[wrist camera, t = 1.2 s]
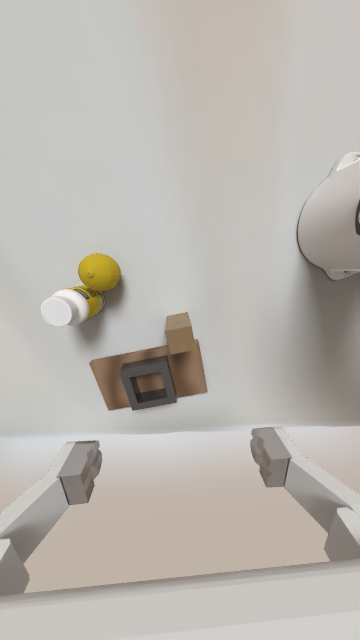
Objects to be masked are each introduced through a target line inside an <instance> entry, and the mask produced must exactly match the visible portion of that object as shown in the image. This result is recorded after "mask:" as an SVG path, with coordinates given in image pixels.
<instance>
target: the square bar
mask: <svg viewBox="0 0 360 640" xmlns="http://www.w3.org/2000/svg"><path fill="white" fill-rule="evenodd" d="M165 334H166V338H167V342H168V346H169V350H170V354H171V355H172V354H177V353H182V352H187V351H192V350H196V347H195V342H194V337H193V332H192V326H191V323H190V319H189V316H188V312H185V313H180V314H175V315H170V316H167V319H166V327H165Z"/></svg>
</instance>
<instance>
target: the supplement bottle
mask: <svg viewBox="0 0 360 640" xmlns="http://www.w3.org/2000/svg"><path fill="white" fill-rule="evenodd" d="M104 304H105V299H104V296H103V294H102V292H101V291H97V290H93V289H91V288H89V287H87V286H86V285H83V286H78V287H73V288H68V289H63V290H60V291H57V292H56V293H54V294H53V295H52V297H51V298H48V299H46V300H45V301H44V302H43V303H42V305H41V314H42V317H43V318H44V320H45V321H46V322H47V323H49V324H50V325H53V326H56V327H63V326H66V325H77V324H80V323H82V322H84V321H85V320H87V319H89V318H90V317H92V316H94V315H95V314H97V313H99V312H100V311H101V310H102V309H103V307H104Z"/></svg>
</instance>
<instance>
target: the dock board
mask: <svg viewBox="0 0 360 640" xmlns="http://www.w3.org/2000/svg"><path fill="white" fill-rule="evenodd" d="M194 342H195V347H196V350H192V351H187V352H182V353H177V354H172V355H171V354H170V350H169V346H168V345H167V346H162V347H156V348H151V349H146V350H141V351H136V352H131V353H126V354H121V355H116V356H111V357H106V358H100V359H95V360H92V361H91V362H90V363H89V364H90V366H91V369H92V371H93V374H94V376H95V378H96V381H97V383H98V386H99V388H100V391H101V393H102V396H103V398H104V401H105V403H106V405H107V408H108V410H114V409H119V408H124V407H130V406H131V405H130V402H129V399H128V397H127V394H126V391H125V388H124V385H123V382H122V380H121V377H120V374H119V371H120V369H121V367H122V365H123V364H124V363H129V362H134V361H139V360H144V359H150V358H155V357H160V356H165V355H168V359H169V363H170V367H171V371H172V375H173V379H174V383H175V387H176V391H177V398H178V397H183V396H188V395H194V394H199V393H204V392H208V391H207V386H206V380H205V375H204V369H203V364H202V358H201V353H200V347H199V342H198V339H197V340H194ZM135 377H136V380H137V383H138V386H139V389H140V392H147V391H152V390H157V389H162V388H165V385H164V382H163V378H162V374H161V372H156V373H151V374H146V375H140V376H135Z"/></svg>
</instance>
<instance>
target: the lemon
mask: <svg viewBox="0 0 360 640" xmlns="http://www.w3.org/2000/svg"><path fill="white" fill-rule="evenodd" d="M78 274H79V277H80V279H81V281H82V282H83V283H84V284H85V285H86V286H87V287H89V288H91V289H93V290H97V291H106V290H109V289H112V288H113V287H115V286H116V285H117V283H118V282H119V280H120V276H121V272H120V268H119V266H118V264H117V262H116V261H115V260H114V259H113V258H111V257H109V256H108V255H105V254H98V253H96V254H91V255H89V256H87V257H85V258H84V259H83V260H82V261H81V263H80V264H79V268H78Z"/></svg>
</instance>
